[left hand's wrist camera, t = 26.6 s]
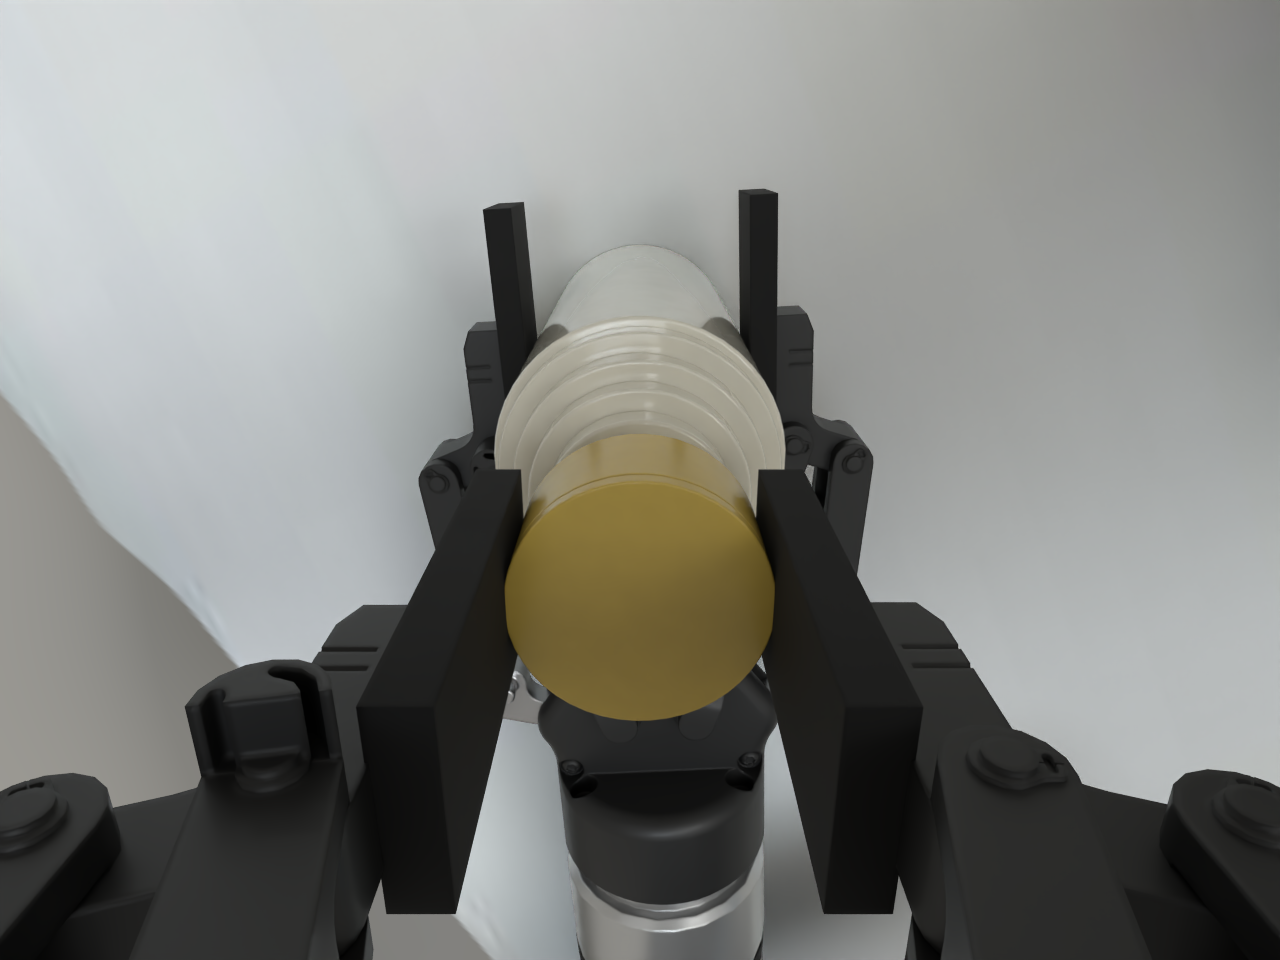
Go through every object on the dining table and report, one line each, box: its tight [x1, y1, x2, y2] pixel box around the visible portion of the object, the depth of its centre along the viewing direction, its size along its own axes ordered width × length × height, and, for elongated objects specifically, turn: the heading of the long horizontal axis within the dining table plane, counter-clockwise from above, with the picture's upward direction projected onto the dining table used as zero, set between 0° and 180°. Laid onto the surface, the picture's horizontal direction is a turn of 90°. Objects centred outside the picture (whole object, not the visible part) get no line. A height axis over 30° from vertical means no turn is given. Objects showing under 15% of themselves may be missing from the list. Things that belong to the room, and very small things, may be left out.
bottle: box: [494, 245, 786, 517], centre depth 22 cm, size 6×6×19 cm
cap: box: [504, 434, 775, 721], centre depth 14 cm, size 4×4×2 cm
